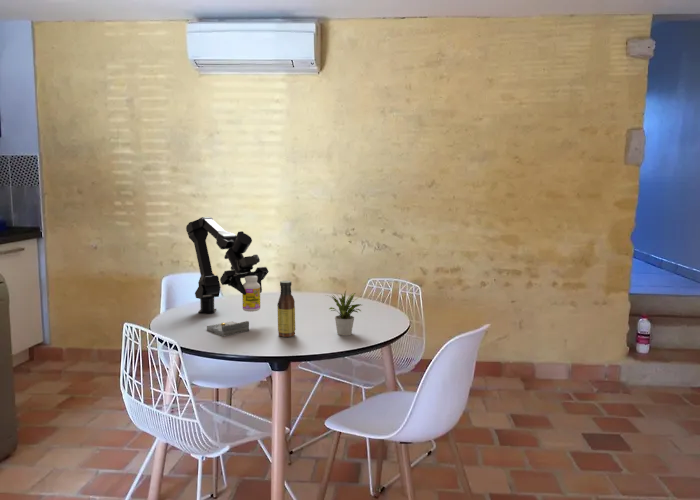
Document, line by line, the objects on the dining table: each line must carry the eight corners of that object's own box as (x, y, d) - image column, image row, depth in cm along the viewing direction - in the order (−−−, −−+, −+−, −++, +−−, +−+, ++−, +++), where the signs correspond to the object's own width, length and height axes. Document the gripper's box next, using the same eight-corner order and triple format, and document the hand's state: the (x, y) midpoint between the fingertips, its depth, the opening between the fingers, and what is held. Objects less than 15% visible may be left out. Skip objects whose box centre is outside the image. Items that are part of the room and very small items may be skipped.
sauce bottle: (286, 332, 200) (287, 279, 198) (298, 335, 196) (299, 281, 194) (273, 335, 195) (273, 281, 193) (285, 338, 191) (286, 283, 189)
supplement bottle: (243, 312, 202) (242, 278, 200) (242, 308, 208) (241, 275, 207) (261, 311, 204) (260, 277, 202) (259, 307, 210) (259, 274, 208)
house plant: (327, 340, 190) (327, 294, 188) (318, 330, 203) (318, 287, 201) (365, 338, 194) (366, 293, 192) (354, 328, 207) (355, 286, 205)
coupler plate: (207, 330, 201) (206, 320, 200) (232, 325, 208) (232, 316, 208) (223, 336, 193) (223, 326, 193) (249, 330, 201) (249, 321, 200)
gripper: (223, 249, 200) (240, 283, 193) (266, 246, 212) (282, 278, 206) (213, 267, 206) (228, 301, 200) (254, 263, 219) (270, 295, 212)
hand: (253, 293), depth 204 cm, fingers closed on supplement bottle, 7 cm apart
